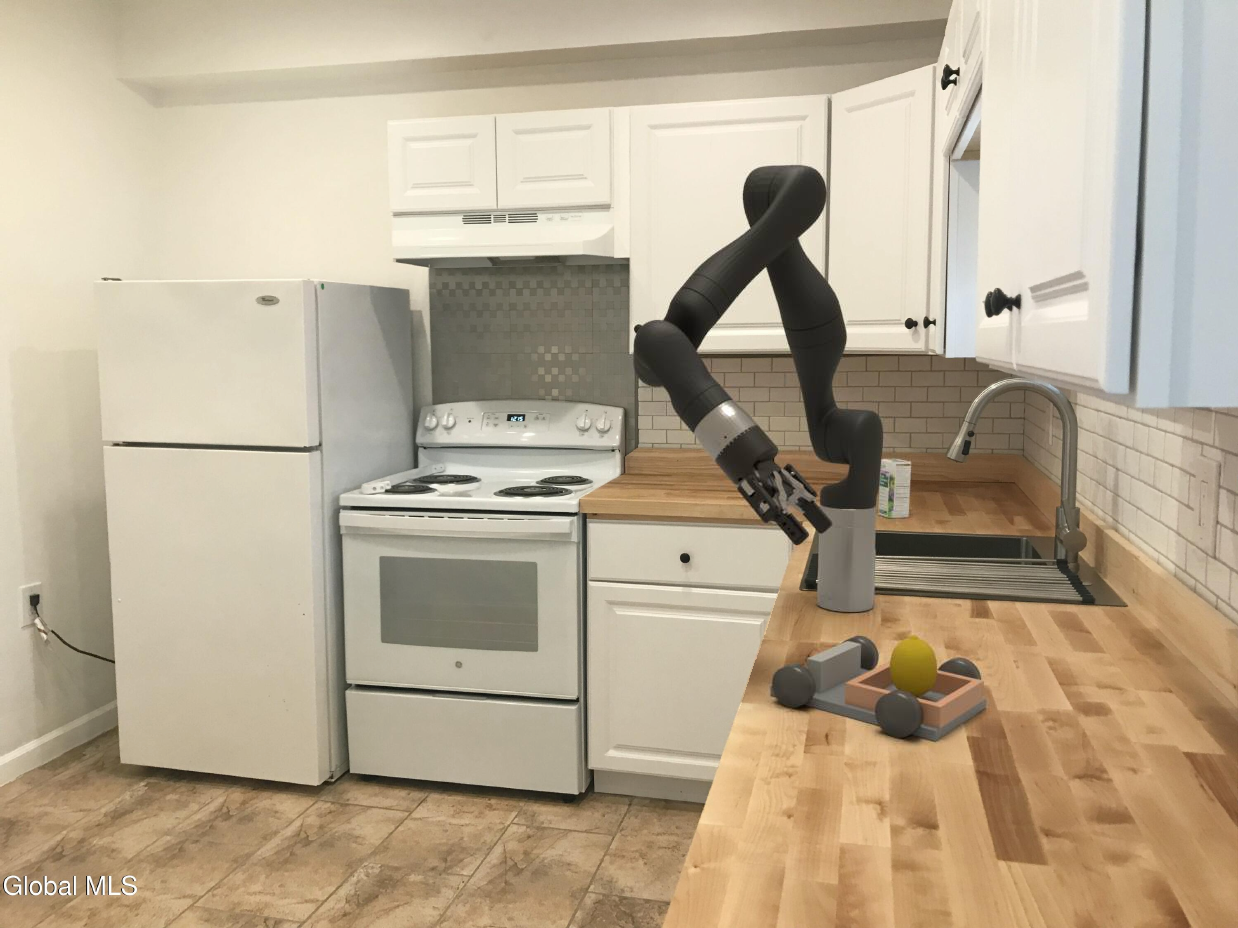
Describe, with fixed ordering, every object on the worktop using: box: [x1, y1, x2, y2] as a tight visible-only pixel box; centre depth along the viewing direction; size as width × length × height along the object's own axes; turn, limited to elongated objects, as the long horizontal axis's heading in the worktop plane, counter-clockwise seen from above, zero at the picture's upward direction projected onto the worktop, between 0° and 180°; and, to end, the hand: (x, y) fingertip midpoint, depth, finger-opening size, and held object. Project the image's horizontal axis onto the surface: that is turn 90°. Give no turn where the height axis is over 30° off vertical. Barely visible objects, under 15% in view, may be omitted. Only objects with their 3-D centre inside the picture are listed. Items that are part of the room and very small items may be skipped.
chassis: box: [769, 635, 987, 742], centre depth 126 cm, size 18×22×5 cm
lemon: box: [889, 634, 938, 698], centre depth 123 cm, size 6×6×8 cm
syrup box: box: [877, 458, 912, 519], centre depth 258 cm, size 6×6×14 cm
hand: (815, 535), depth 131 cm, fingers open, 8 cm apart
